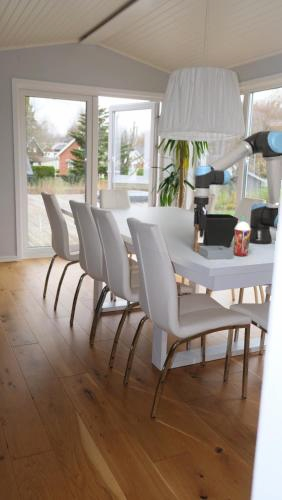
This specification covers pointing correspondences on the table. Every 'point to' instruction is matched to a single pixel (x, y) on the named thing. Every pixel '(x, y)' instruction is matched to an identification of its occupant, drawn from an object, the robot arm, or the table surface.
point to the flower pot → (219, 229)
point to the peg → (196, 245)
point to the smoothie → (241, 238)
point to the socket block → (215, 252)
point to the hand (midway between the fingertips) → (198, 241)
